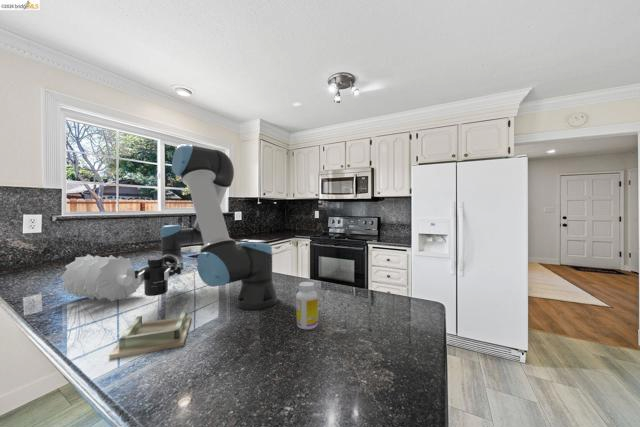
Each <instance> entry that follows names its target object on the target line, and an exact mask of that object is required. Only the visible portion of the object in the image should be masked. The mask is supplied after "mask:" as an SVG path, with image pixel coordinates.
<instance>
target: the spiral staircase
mask: <svg viewBox="0 0 640 427" xmlns="http://www.w3.org/2000/svg"><path fill="white" fill-rule="evenodd" d="M74 259H75V260H74V261H72V262H70V263H69V264H67V265H65V267H64V268H65V269H66V270H65V272H63V274H62V275H61V277H60V280H63V284H62V285H63V286H62V291H63V290H64V291H65V290H66V293H67V296H68V295H71V294H72V295H74V296H76V297H77V298H80V299H81V298H82V297H83V296H84V297H85V298H88V299H90V300H92V301H93V300H94V299H95V298H96V299H98V300H99V301H100V300H102V299H107V300H109V301H111V302H114V301H115V300H125V299H126V298H127V297H129V296H131V295H133V294H134V293H137V290H138V289H139V287H140V286H141V285H142V284H143V283H144V281H142V282H141V283H138V279H137V278H135V271H136V270H137V269H131V268H133V267H134V266H133V263H132V261H131V259H130V258H126V257H123V256H122V255H119V256H118V257H117V258H116V257H115V256H114V255H112V254H110V255H109V256H108V257H107V256H105V257H102V256H99V255H95V256H93V255H91V254H89V253H88V254H86V255H85V256H79V257H77V256H76V257H75V258H74Z"/></svg>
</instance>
